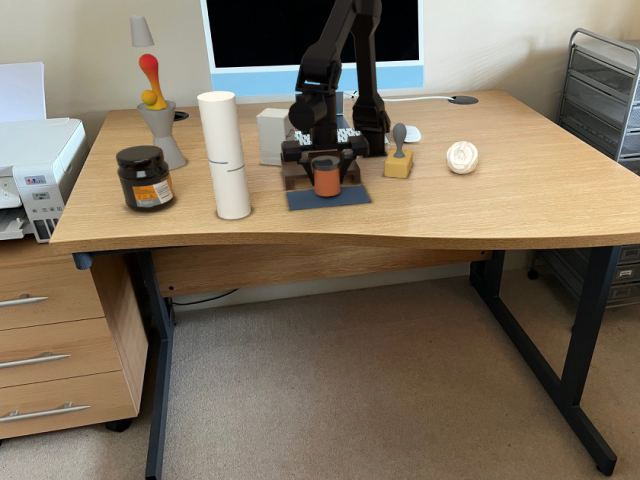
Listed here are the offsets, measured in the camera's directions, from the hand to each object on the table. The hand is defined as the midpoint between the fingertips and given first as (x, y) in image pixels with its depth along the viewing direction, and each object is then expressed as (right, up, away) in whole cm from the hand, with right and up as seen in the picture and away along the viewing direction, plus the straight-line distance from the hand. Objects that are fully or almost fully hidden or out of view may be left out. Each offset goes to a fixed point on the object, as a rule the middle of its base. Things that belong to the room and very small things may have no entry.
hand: (327, 184), depth 131 cm
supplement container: (-39, -5, -1) cm, 40 cm away
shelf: (-3, +4, +11) cm, 12 cm away
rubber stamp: (+17, +6, +16) cm, 24 cm away
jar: (0, -1, +1) cm, 2 cm away
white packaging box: (-15, +10, +21) cm, 27 cm away
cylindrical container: (-20, -7, -4) cm, 21 cm away
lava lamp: (-43, +9, +19) cm, 47 cm away
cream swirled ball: (+32, +5, +15) cm, 36 cm away
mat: (0, -3, +2) cm, 3 cm away
